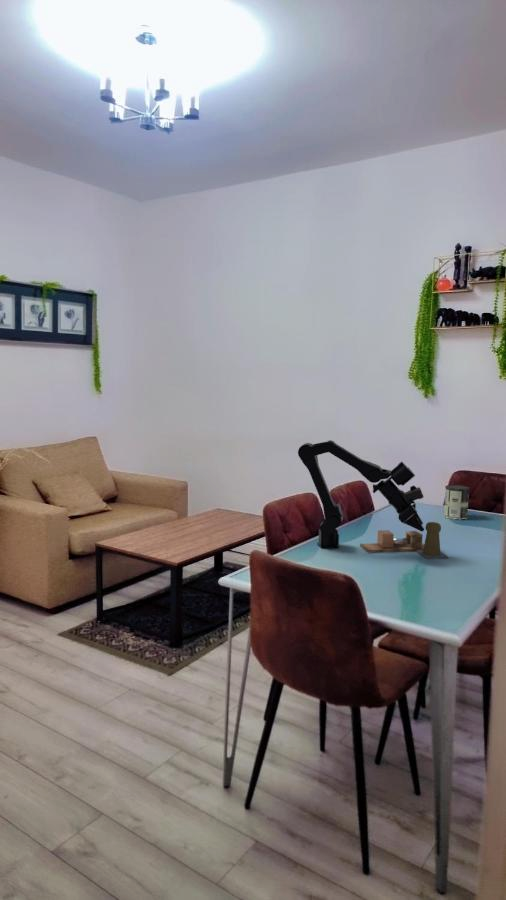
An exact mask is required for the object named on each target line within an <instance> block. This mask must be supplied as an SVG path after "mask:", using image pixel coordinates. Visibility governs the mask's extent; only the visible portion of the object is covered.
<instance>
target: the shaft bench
mask: <svg viewBox="0 0 506 900" xmlns="http://www.w3.org/2000/svg"><path fill="white" fill-rule="evenodd" d="M423 535H424V534H423V533H420V532H419V531H418V530H406V531H405V538H407V545H393V547H388V548H382V547H381V546H380V545H378V544H377V542H375V543H360V544H359V547H360V548H361V547H362V548H361V549H363V550H364V551H365V552H366V553H369V554H371V553H373V554H374V553H377V554H378V553H406V552H408V553H409V552H410V553H412V552H413V553H414V552H415V553H417V550H423V549H424V544H425V543H424V542H423Z"/></svg>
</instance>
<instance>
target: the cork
mask: <svg viewBox="0 0 506 900" xmlns="http://www.w3.org/2000/svg"><path fill="white" fill-rule="evenodd" d="M425 530H426V535H425V538H424V539H425V540H424V543H423V544H424V549H423V553H424V554H427V555H432V556H438V555H440V551H441V542H440V540H441V539H440V532H441V530H442V526H441V524H440V523H439V522H435V521H428V522H427V523H426V524H425Z"/></svg>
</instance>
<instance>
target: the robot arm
mask: <svg viewBox="0 0 506 900" xmlns="http://www.w3.org/2000/svg"><path fill="white" fill-rule="evenodd" d="M326 453H330V454H331V455H332V456H334V457H336V458H338V459H339V460H341V461H342V462H344V463H346V464H348V466H351V467H352V468H354V469H355V470H356V471H357V472H359V474H360V475H361V476H363V477H364V478H365V479H366V480H367V481H368V482H370V483H372V493H373V494H376V493H377V492H379V493H380V494H381V495H382V496H383V497H384V498H385V499H386V500H387V502H388V504H389V505H391V506H392V508H394V509H395V511H396V513H397V514H398V520H399V521H400V523H402V524H404V525H407V526H409V527H411V528H414V529H416V531H418V532H419V531H420V532H421V533H423V532H424V531H425V528H424V526H423V524H424V522H423V520H422V519H421V517H420V516H419V514H418V510H417V509H416V508H417V507H416V502H415V501H416V500H421V499H424V494H423V491H422V489H421V487H417V486H415V485H412V486H410V488H409V490H407V491H406V492H405V491H403V490H402V489H400V488H399V487H398V486H402V487H403V486H404V485H406V484H407V483H409V482H410V481H411V480H412V479H413V478H415V477H416V475H415V473H414V472H413V470H412V469H411V468H410V467H408V466H407V465H406V464H405V463H404V462H403V461H400V462H399V463H398V464H397V465H396V466H395V467H393V469H391V470H390V469H386V468H382V467H381V466H380V465H379V464H376V463H373V462H371V461H368V460H365V459H362V458H360V457H359V456H357V455H356V454H354V453H352V452H350V451H349V450H347V449H345V448H344V447H343V446H341V445H339V444H337V443H336V442H335V441H334V440H331V439H329V440H327V441H322V442H317V443H314V444H312V443H310V442H306V443H303V444H302V445H301V446H300V447H299V448H298V450H297V455H298V457H299V459H300V460H301V462H302V463H303V465H304V466H305V467H306V469H307V471H308V472H309V474H310V477H311V480H312V482H313V484H314V487H315V490H316V492H317V495H318V496H319V499H320V502H321V504H322V510H323V515H324V519H323V520H322V521H321V523H320V525H319V526H318V527H319V529H318V542H317V543H316V544H317V546H318V547H319V548H321V549H322V548H323V550H324V549H325V550H326V549H339V547H340V546H339V545H340V544H339V542H340V539H339V538H340V534H339V533H338V529H337V528H339V527H340V526H341V525H342V522H343V519H344V513H345V512H344V511H343V509H342V506H341V503H340V502H338V503H337V504H336V502H335V500H333V497H332V495H331V492H330V490H329V487H328V484H327V482H326V480H325V478H324V475H323V472H322V470H321V468H320V465H319V458H318V456H319V455H323V454H326ZM375 483H377V484H375Z"/></svg>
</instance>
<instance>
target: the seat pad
mask: <svg viewBox="0 0 506 900" xmlns="http://www.w3.org/2000/svg"><path fill="white" fill-rule="evenodd" d="M416 553H417V554H418V555H420V557H423V558H424V559H426V560H442V559H443V560H445V559H449V555H447V554H445V553H444V552H442V551H441V550H440V555H438V556H432V555H427V554H424V553H423V550H417V552H416Z"/></svg>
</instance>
